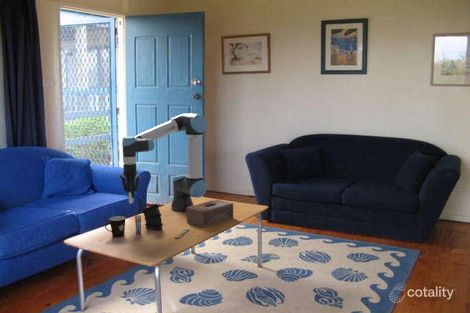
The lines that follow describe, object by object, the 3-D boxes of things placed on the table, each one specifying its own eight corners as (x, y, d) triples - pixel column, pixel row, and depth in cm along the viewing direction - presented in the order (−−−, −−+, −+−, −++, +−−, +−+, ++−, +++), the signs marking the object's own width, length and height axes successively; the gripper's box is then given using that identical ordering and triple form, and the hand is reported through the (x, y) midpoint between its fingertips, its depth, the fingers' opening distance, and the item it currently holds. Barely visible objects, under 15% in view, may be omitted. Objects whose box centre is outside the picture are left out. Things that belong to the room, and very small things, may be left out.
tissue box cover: (203, 227, 280) (202, 211, 279) (186, 223, 290) (186, 207, 289) (233, 218, 299) (233, 203, 297) (217, 214, 309) (217, 199, 307)
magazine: (162, 229, 272) (153, 204, 274) (148, 235, 280) (139, 211, 282) (166, 227, 275) (158, 203, 277) (152, 233, 283) (144, 209, 285)
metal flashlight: (137, 231, 273) (136, 215, 272) (142, 232, 272) (141, 215, 271) (134, 233, 270) (133, 216, 268) (139, 234, 269) (139, 217, 268)
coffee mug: (125, 232, 272) (124, 215, 271) (127, 237, 264) (126, 219, 263) (104, 235, 268) (103, 217, 267) (105, 239, 260) (104, 221, 259)
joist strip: (185, 229, 276) (185, 229, 276) (189, 230, 275) (189, 229, 275) (174, 238, 261) (174, 237, 261) (178, 238, 260) (178, 238, 260)
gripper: (116, 164, 275) (118, 203, 279) (136, 164, 272) (138, 205, 275) (122, 162, 283) (124, 200, 286) (142, 162, 279) (144, 202, 283)
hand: (131, 202), depth 281 cm, fingers closed
